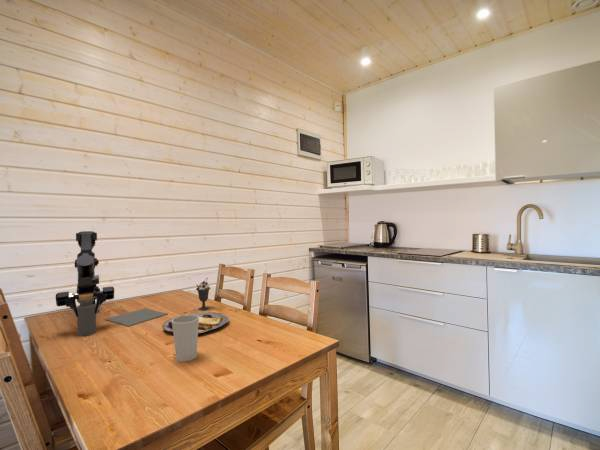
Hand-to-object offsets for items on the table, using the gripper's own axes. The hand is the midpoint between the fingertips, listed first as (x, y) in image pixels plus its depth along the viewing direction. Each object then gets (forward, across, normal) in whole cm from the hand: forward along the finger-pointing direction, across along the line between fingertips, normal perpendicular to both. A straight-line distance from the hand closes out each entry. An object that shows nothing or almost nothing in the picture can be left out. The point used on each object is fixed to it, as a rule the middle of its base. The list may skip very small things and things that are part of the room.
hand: (86, 314), depth 115 cm
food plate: (+17, +37, -5) cm, 41 cm away
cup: (+36, +26, -25) cm, 51 cm away
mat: (-3, +18, +14) cm, 23 cm away
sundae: (+1, +46, +10) cm, 47 cm away
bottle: (+4, 0, +6) cm, 8 cm away
